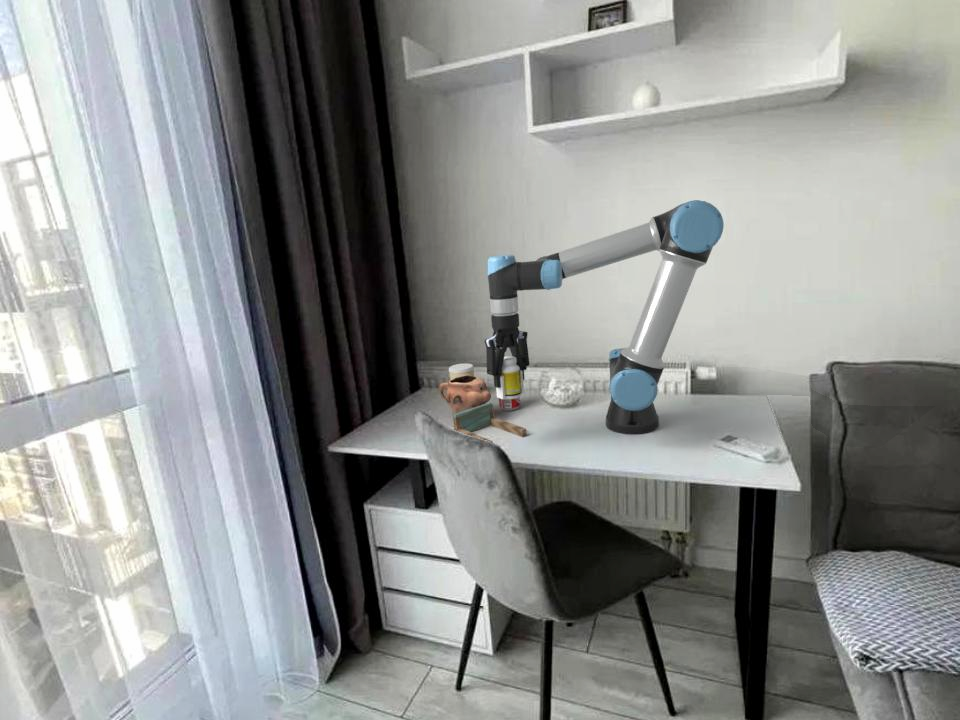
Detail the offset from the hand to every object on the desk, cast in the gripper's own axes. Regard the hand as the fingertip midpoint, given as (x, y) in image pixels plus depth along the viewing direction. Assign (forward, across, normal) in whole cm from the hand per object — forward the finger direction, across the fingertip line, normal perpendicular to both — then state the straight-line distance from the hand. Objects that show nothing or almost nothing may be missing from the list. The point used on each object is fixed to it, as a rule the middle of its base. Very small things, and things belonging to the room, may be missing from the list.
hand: (510, 394), depth 155 cm
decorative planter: (+15, -3, -28) cm, 31 cm away
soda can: (+15, -19, -24) cm, 34 cm away
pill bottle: (+1, 0, 0) cm, 1 cm away
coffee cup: (+15, -17, -47) cm, 52 cm away
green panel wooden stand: (+14, +1, -10) cm, 17 cm away
